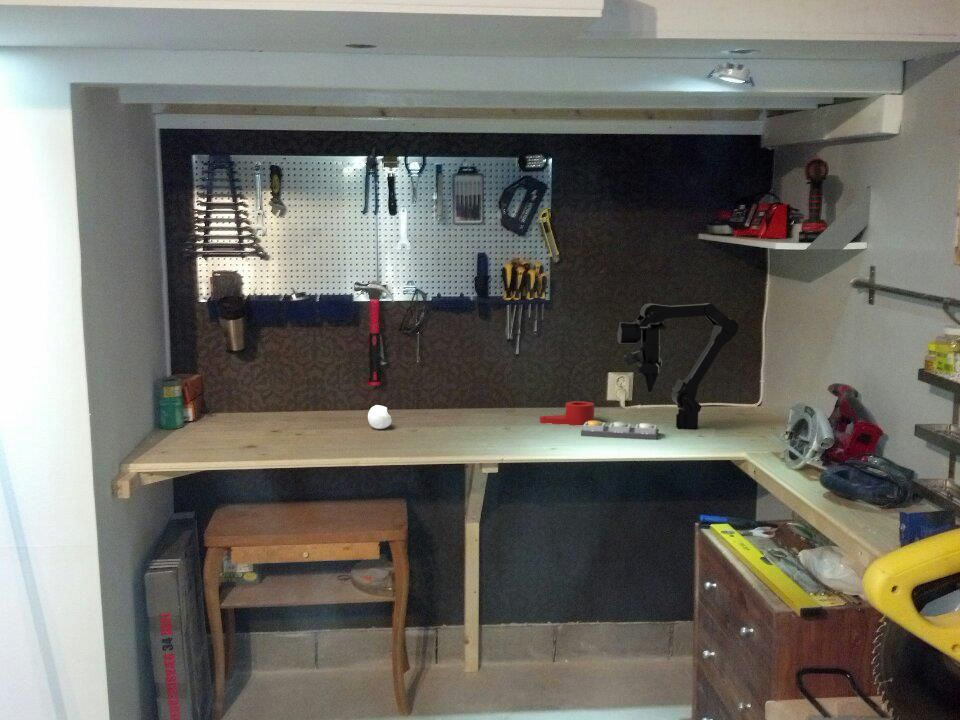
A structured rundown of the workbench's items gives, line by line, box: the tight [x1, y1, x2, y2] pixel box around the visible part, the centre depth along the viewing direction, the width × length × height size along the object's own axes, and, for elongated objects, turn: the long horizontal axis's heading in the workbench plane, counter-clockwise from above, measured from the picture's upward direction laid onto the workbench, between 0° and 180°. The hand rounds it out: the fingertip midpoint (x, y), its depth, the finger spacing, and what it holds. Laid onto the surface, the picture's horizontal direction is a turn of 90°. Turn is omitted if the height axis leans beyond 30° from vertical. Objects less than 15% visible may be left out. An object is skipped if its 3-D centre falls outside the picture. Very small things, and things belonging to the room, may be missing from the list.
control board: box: [580, 421, 659, 441], centre depth 291 cm, size 23×9×3 cm, turn 75°
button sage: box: [613, 421, 628, 427], centre depth 291 cm, size 4×4×2 cm
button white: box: [638, 422, 654, 428], centre depth 289 cm, size 4×4×2 cm
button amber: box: [588, 419, 601, 426], centre depth 293 cm, size 4×4×2 cm
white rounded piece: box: [367, 404, 392, 430], centre depth 300 cm, size 8×8×8 cm
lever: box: [539, 400, 595, 426], centre depth 310 cm, size 18×9×7 cm, turn 90°
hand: (649, 391), depth 300 cm, fingers closed
